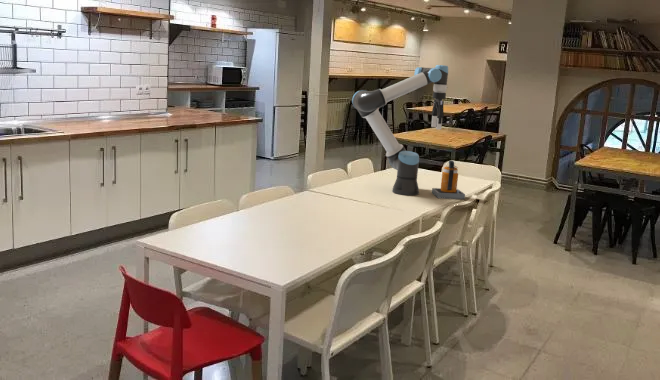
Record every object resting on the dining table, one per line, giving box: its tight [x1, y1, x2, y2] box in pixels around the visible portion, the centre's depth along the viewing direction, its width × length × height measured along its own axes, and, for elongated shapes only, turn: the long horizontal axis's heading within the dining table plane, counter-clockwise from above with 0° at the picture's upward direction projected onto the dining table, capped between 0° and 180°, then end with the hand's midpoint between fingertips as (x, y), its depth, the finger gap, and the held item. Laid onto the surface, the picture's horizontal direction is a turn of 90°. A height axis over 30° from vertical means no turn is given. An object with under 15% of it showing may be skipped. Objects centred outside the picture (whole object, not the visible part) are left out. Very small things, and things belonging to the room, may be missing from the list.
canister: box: [440, 160, 459, 193], centre depth 353 cm, size 9×11×20 cm
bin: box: [431, 187, 466, 200], centre depth 355 cm, size 16×14×3 cm
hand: (436, 128), depth 367 cm, fingers open, 13 cm apart
